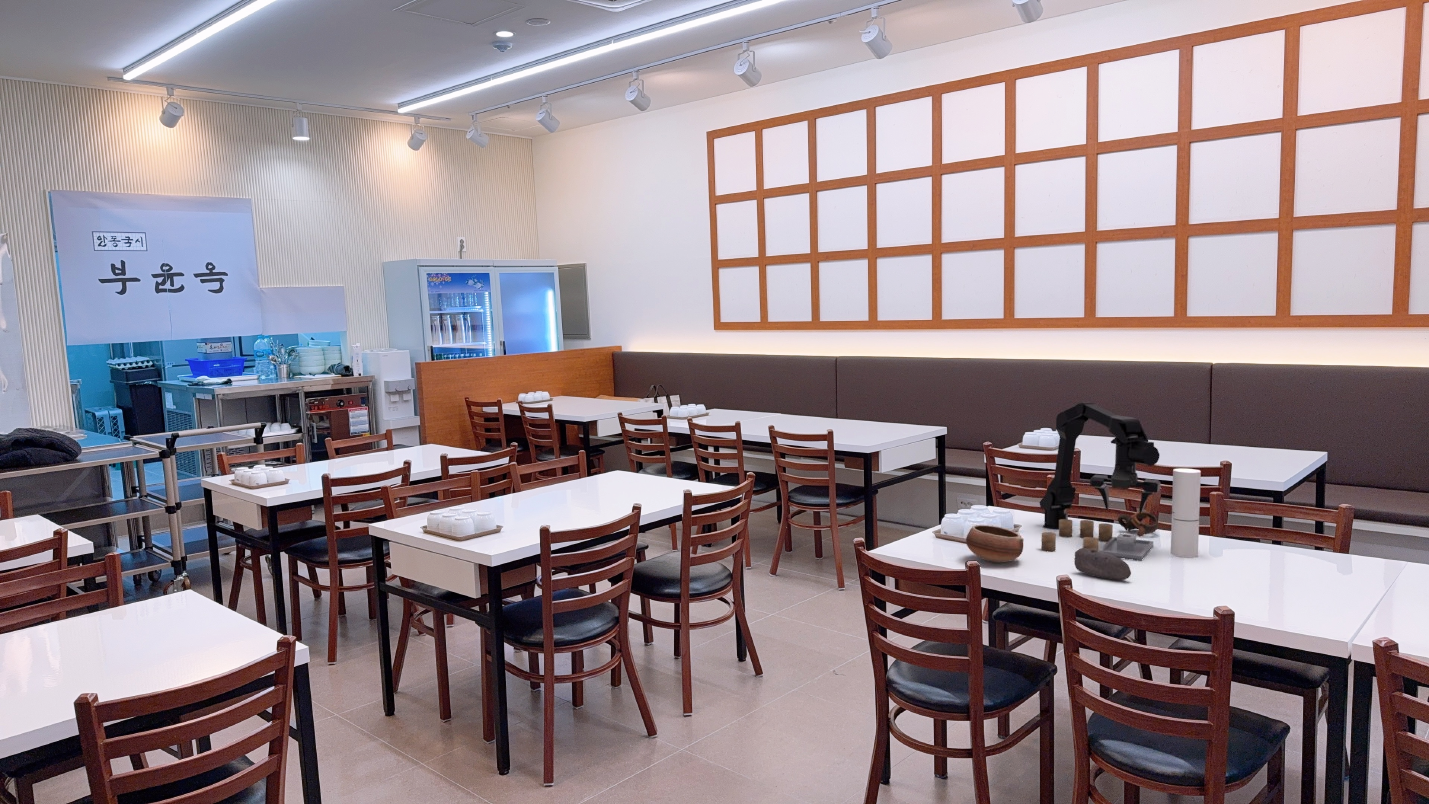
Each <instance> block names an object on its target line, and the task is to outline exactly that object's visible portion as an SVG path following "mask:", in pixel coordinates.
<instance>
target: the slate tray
mask: <svg viewBox="0 0 1429 804" xmlns="http://www.w3.org/2000/svg"><path fill="white" fill-rule="evenodd" d="M1154 543H1155V542H1154V541H1152V540H1144V539H1143V540H1142V539H1136V549H1135V550H1134V551H1133V552H1132V551H1124V550H1117V536H1112V538H1111V539H1110V540H1109V541H1108V542H1105V544H1104V545H1103V546H1102V547H1101V548H1100V549H1098V551H1099V552H1104V553H1107V554H1110V555H1113V556H1115V557H1118V558H1120V559H1121V558H1125V559H1124V560H1129V559H1133V560H1132V561H1137V560H1138V561H1139V562H1142V561H1143V560H1144V559H1145V557H1146V556H1147V555H1148V554H1149V553H1150V551H1151V550H1152V549H1153V547H1154ZM1151 548H1152V549H1151ZM1150 549H1151V550H1150ZM1147 553H1148V554H1147ZM1143 558H1144V559H1143ZM1142 559H1143V560H1142Z"/></svg>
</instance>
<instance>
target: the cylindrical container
mask: <svg viewBox="0 0 1429 804" xmlns="http://www.w3.org/2000/svg"><path fill="white" fill-rule="evenodd" d="M1201 473H1202V471H1201V470H1200V469H1195V468H1194V469H1193V468H1183V467H1181V468H1173V470H1172V494H1171V495H1172V497H1171V527H1170V529H1171V533H1170V537H1171V538H1170V554H1171V556H1174V557H1177V558H1187V559H1189V558H1190V559H1193V558H1194V557H1195V558H1197V556H1198V557H1199V534H1200V533H1199V532H1200V531H1199V530H1200V502H1201V500H1200V499H1201Z"/></svg>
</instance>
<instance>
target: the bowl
mask: <svg viewBox="0 0 1429 804" xmlns="http://www.w3.org/2000/svg"><path fill="white" fill-rule="evenodd" d="M965 543H966V547H967V548H968V549H969V551H970V552H971V553H973V554H974V555H976V557H979V558H981V559H982V560H985V561H987V562H990V563H996V562H999V563H998V564H1000V562H1002V563H1006V562H1007V563H1008V562H1011V561H1014V560H1016V559H1017V558H1019V557H1020V556H1021V555H1022V553H1023V551H1024V538H1023V537H1022V536H1021V534H1019V533H1018V532H1015V531H1014V530H1011V529H1009V528H1006V527H1005V528H1004V527H1002V526H996V525H995V526H994V525H987V524H976V525H973V526H972V527H971V528H970V529H969V531H968V532H967V535H966V538H965Z"/></svg>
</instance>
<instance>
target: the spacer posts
mask: <svg viewBox="0 0 1429 804" xmlns="http://www.w3.org/2000/svg"><path fill="white" fill-rule="evenodd" d="M1079 522H1080V523H1079V537H1080V538H1082V539H1083V544H1082V548H1087V549H1092V550H1096V551H1099V542H1102V543H1107V542H1108V541H1109V540H1110V539H1111V538H1112V537H1113V532H1114V531H1113V524H1111V523H1106V522H1105V523H1098V538H1097V537H1094V536H1095V535H1094V533H1095V532H1094V528H1095V524H1094V523H1095V521H1093V520H1089V519H1082V520H1080V521H1079ZM1073 523H1074V522H1073V520H1072V519H1069V518H1068V519H1060V520H1059V529H1058V536H1059V537H1061V538H1072V537H1073ZM1056 537H1057V534H1056V533H1054V532H1050V531H1048V532H1047V531H1046V532H1045V531H1043V532H1041V551H1043V552H1047V551H1048V552H1049V553H1050V552H1056V551H1057V550H1056V541H1057V539H1056ZM1055 550H1056V551H1055Z"/></svg>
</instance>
